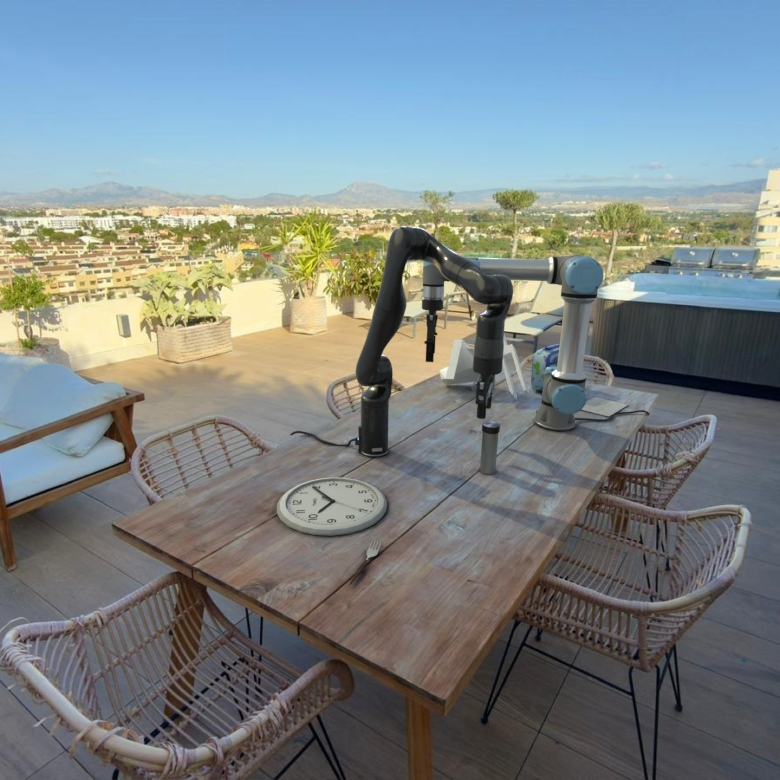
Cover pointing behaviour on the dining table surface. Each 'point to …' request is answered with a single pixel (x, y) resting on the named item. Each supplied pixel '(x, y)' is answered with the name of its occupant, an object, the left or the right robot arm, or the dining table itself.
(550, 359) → the lunch box
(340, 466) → the dining table surface
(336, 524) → the wall clock
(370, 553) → the fork
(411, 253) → the left robot arm
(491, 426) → the lid
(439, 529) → the dining table surface
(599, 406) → the invitation card
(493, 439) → the jar
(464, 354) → the white plastic object
